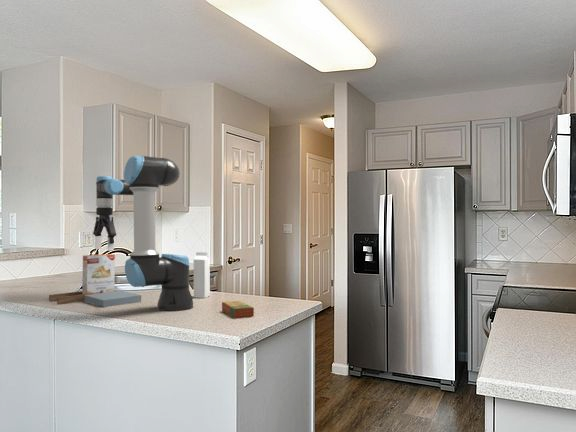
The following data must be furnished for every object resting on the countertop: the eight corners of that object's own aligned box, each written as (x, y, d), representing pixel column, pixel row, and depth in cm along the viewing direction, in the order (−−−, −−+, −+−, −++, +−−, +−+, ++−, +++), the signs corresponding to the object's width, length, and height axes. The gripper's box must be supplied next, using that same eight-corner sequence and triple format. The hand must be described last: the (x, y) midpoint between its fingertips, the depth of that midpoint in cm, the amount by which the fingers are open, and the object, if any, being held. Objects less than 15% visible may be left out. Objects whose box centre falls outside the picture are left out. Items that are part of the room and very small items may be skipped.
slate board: (141, 301, 217) (141, 295, 217) (103, 307, 204) (103, 300, 204) (120, 296, 231) (120, 290, 231) (84, 301, 218) (84, 295, 218)
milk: (198, 296, 233) (198, 251, 234) (210, 296, 232) (209, 252, 232) (193, 297, 227) (193, 252, 228) (204, 298, 226) (204, 252, 226)
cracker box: (87, 299, 223) (87, 255, 223) (81, 298, 228) (81, 255, 228) (115, 296, 233) (115, 254, 234) (109, 294, 238) (109, 253, 238)
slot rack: (93, 299, 222) (93, 293, 222) (58, 304, 211) (58, 297, 211) (83, 297, 230) (83, 291, 230) (49, 301, 219) (49, 294, 219)
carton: (240, 310, 198) (240, 300, 199) (254, 317, 184) (254, 306, 184) (221, 311, 195) (221, 301, 195) (234, 319, 180) (234, 308, 180)
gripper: (123, 207, 226) (123, 250, 227) (100, 207, 244) (100, 248, 244) (108, 206, 221) (108, 251, 221) (86, 207, 238) (86, 248, 238)
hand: (104, 249), depth 232 cm, fingers open, 13 cm apart
